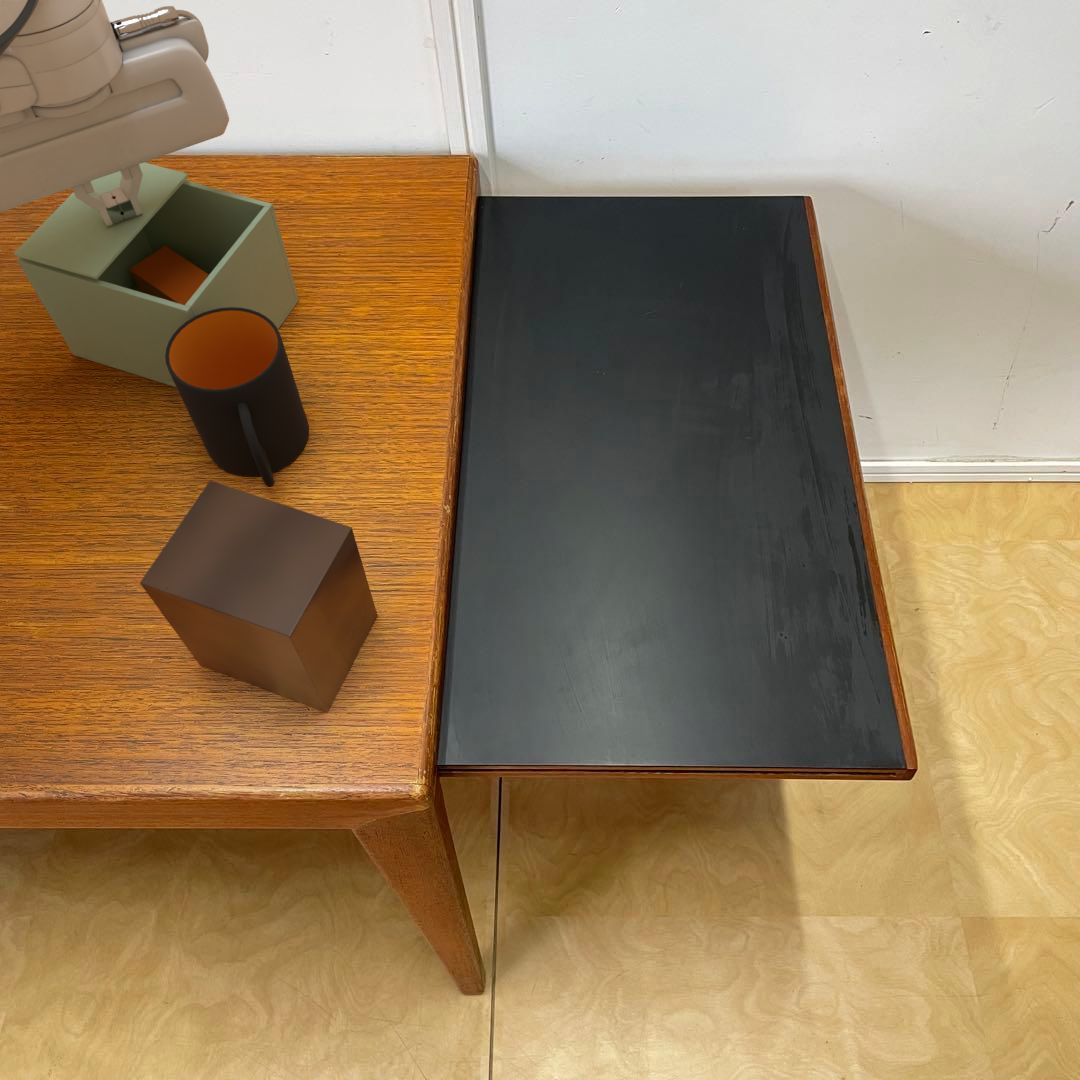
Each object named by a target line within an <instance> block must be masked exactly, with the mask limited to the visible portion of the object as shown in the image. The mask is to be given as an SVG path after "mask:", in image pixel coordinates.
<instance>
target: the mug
mask: <svg viewBox="0 0 1080 1080" xmlns="http://www.w3.org/2000/svg"><path fill="white" fill-rule="evenodd" d="M165 360H166V365H167V368H168V370H169V372H170V375H171V377H172V379H173V381H174V383H175V385H176V387H177V388H176V387H175V388H176V389H177V392H178V393H179V394H178V395H180V398H181V399H182V402H183V404H184V406H185V409H186V410H187V412H188V414H189V416H190V418H191V421H192V423H193V425H194V427H195V430H196V431H197V433H198V435H199V437H200V439H201V441H202V444H203V445H204V448H205V450H206V451H207V455H208V456H209V458H210V459H211V460H212V462H213V463H214V464H215V465H216V466H217V467H218V468H220V469H222V470H223V471H225V473H226V472H227V473H229V474H232V475H234V476H240V477H249V478H254V477H261V479H262V482H263V484H264V486H266V488H273V487H274V485H275V477H274V475H273V473H277V472H279V471H281V470H283V469H285V468H286V467H288V466H289V465H290V464H292V463H293V462H294V461H295V460H296V459H297V458H298V457H299V456H300V455H301V453H302V452H303V451H304V449H305V447H306V446H307V443H308V441H309V440H308V439H309V436H310V427H309V421H308V418H307V416H306V412H305V409H304V405H303V403H302V399H301V396H300V392H299V389H298V386H297V383H296V380H295V376H294V374H293V370H292V367H291V364H290V360H289V357H288V355H287V352H286V347H285V344H284V342H283V338H282V336H281V333H280V330H279V329H278V328H277V327H276V326H275V324H274V323H273V322H272V321H271V320H270V319H269V318H267V317H266V316H264V315H263V314H261V313H259V312H256V311H253V310H250V309H245V308H237V307H227V308H219V309H213V310H210V311H207V312H203V313H201V314H199V315H197V316H195V317H193V318H191V319H190V320H188V321H186V322H185V323H184V324H183V325H181V326H180V327H179V328H178V329H177V330H176V332H175V333H174V334H173V335H172V337H171V339H170V340H169V342H168V345H167V348H166V353H165Z"/></svg>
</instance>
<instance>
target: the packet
mask: <svg viewBox="0 0 1080 1080" xmlns="http://www.w3.org/2000/svg"><path fill="white" fill-rule="evenodd" d="M130 272H131V274H132V276H133V278H134V280H135V282H136V285H137V287H138V289H139V291H140V292H141V293H145V294H148V295H152V296H155V297H158V298H162V299H165V300H168V301H172V302H175V303H178V304H182V305H185V304H186V303H187V302H188V301H189V299H190V298H191V297H192V296H193V294H194V293H195V292H196V291H197V289H198V288H199V287H200V286H201V284H202V283H203V282H204V281H205V280H206V278H207V277H208V276H209V274H207V273H206V272H204V271H203V270H201V269H200V268H198V267H197V266H195V265H194V264H192V263H191V262H189V261H188V260H186V259H185V258H183V257H182V256H180V255H179V254H177V253H176V252H174V251H173V250H171V249H170V248H168V247H167V246H164V247H162V248H161V249H159V250H158V251H156V252H155V253H153V254H152V255H150V256H149V257H147V258H146V259H144V260H143V261H141V262H140V263H138V264H137V265H135V266H134V267H132V268H131V269H130Z"/></svg>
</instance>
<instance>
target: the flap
mask: <svg viewBox="0 0 1080 1080" xmlns="http://www.w3.org/2000/svg"><path fill="white" fill-rule="evenodd" d="M139 166H140V169H141V171H142V174H143V176H142V180H141V184H140V189H139V193H138V197H136V198H137V200H138V203H139V205H140V207H141V210H142V212H143V214H141V215H139V216H136V217H133V218H130V219H127V220H125V221H122V222H120V223H117V224H114V225H111V226H109V227H107V226H106V225H105V223H104V221H103V220H102V218H101V216H100V214H99V213H98V211H97V210H95V209H94V208H92V207H91V206H89V205H87V204H86V203H84V202H83V201H81V200H80V199H78V198H77V197H76V196H75V194H74V192H73V191H72V193H71V194H70V195H69V196H68V197H67V198H66V199H65V200H64V201H63V202H62V203H61V204H60V205H59V206H58V207H57V208H56V209H55V210H54V211H53V212H52V213H51V214H50V215H49V216H48V218H46V219H45V221H43V222H42V224H40V226H39V227H37V228H36V230H35V231H34V232H32V234H31V235H30V236H29V237H28V238H27V239H26V240H25V241H23V243H22V244H21V245H20V246H19V247H18V248H16V250H15V251H13V254H14V256H15V257H19V258H20V257H21V258H25V259H28V260H31V261H35V262H38V263H42V264H45V265H49V266H52V267H56V268H59V269H63V270H66V271H70V272H73V273H77V274H80V275H84V276H87V277H91V278H94V279H98V278H99V276H100V275H101V274H102V273H103V272H104V271H105V270H106V269H107V268H108V266H109V265H110V264H111V263H112V262H113V261H114V260H115V259H116V257H117V256H118V255H119V254H120V253H121V252H122V251H123V250H124V249H125V247H126V246H127V245H128V244H129V243H130V242H131V241H132V240H133V238H134V237H135V236H136V235H137V234H138V233H139V232H140V231H141V229H142V228H143V227H144V226H145V225H146V224H147V223H148V222H149V221H150V219H151V218H152V217H153V216H154V215H155V214H156V213H157V212H158V210H159V209H160V208H161V207H162V206H163V205H164V204H165V203H166V202H167V200H168V199H169V198H170V197H171V196H172V195H173V194H174V193H175V191H176V190H177V189H178V188H179V187H180V186H181V185H182V184H183V183H184V181H185V180H186V181H187V179H188V178H189V174H188V173H187V172H184V171H179V170H175V169H171V168H168V167H163V166H160V165H157V164H151V163H148V162H144V163H141V164H139ZM120 181H121V173H120V171H118V172H115V173H112V174H109V175H107V176H104V177H101V178H98V179H95V180H92V181H90V182H91V184H92V186H93V189H94V191H95V192H97V193H98V194H99V195H100V194H103V193H106V192H109V191H112V190H115V189H117V188H120Z"/></svg>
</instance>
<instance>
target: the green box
mask: <svg viewBox="0 0 1080 1080" xmlns="http://www.w3.org/2000/svg"><path fill="white" fill-rule="evenodd" d="M164 246H167V247H168V248H170V249H171V250H173V251H174V252H176V253H177V254H179V255H180V256H182V257H183V258H185V259H186V260H188V261H189V262H191V263H192V264H194V265H195V266H197V267H198V268H200V269H201V270H203V271H204V272H206V273H207V274H209V276H208V277H207V278H206V280H205V281H204V282H203V283H202V284H201V286H200V287H199V288H198V289H197V291H196V292H195V293H194V294H193V296H192V297H191V298H190V299H189V301H188V302H187V303H186V304H185V305H182V304H178V303H175V302H172V301H168V300H165V299H162V298H158V297H155V296H152V295H148V294H145V293H141V292H140V291H139V289H138V287H137V285H136V282H135V280H134V278H133V276H132V274H131V272H130V269H131V268H132V267H134V266H135V265H137V264H138V263H140V262H141V261H143V260H144V259H146V258H147V257H149V256H150V255H152V254H153V253H155V252H156V251H158V250H159V249H161V248H162V247H164ZM16 262H17V263H18V265H19V267H20V269H21V270H22V272H23V273H24V275H25V277H26V278H27V280H28V281H29V283H30V286H32V288H33V290H34V291H35V293H36V295H37V296H38V299H39V300H40V302H41V304H42V305H43V307H44V308H45V310H46V311H47V314H48V315H49V317H50V318H51V320H52V322H53V323H54V325H55V327H56V328H57V330H58V332H59V334H60V336H62V338H63V340H64V342H65V343H66V345H67V347H68V348H69V350H70V351H71V353H72V355H73V356H75V357H78V358H81V359H85V360H87V361H90V362H94V363H98V364H100V365H104V366H107V367H110V368H113V369H116V370H120V371H122V372H126V373H128V374H132V375H135V376H139V377H142V378H145V379H149V380H151V381H154V382H158V383H161V384H163V385H166V386H167V385H168V386H171V387H173V388H176V389H177V387H176V385H175V383H174V381H173V379H172V377H171V375H170V372H169V370H168V368H167V365H166V360H165V353H166V348H167V345H168V342H169V340H170V339H171V337H172V335H173V334H174V333H175V332H176V330H177V329H178V328H179V327H180V326H181V325H183V324H184V323H185V322H186V321H188V320H190V319H191V318H193V317H195V316H197V315H199V314H201V313H203V312H207V311H210V310H213V309H219V308H227V307H237V308H245V309H250V310H253V311H256V312H259V313H261V314H263V315H264V316H266V317H267V318H269V319H270V320H271V321H272V322H273V323H274V324H275V326H276V327H277V328H278V330H279V329H280V327H281V326H282V325H283V324H284V322H285V321H286V319H287V318H288V317H289V315H290V314H291V313H292V311H293V310H294V308H295V307H296V305H297V304H298V302H299V301H300V299H299V295H298V291H297V286H296V283H295V279H294V276H293V272H292V269H291V265H290V262H289V258H288V256H287V250H286V248H285V244H284V239H283V237H282V233H281V229H280V225H279V222H278V218H277V214H276V212H275V208H274V204H273V203H271V202H268V201H264V200H260V199H256V198H252V197H249V196H245V195H242V194H237V193H234V192H230V191H227V190H222V189H220V188H216V187H213V186H208V185H204V184H200V183H197V182H194V181H190V180H187V179H186V180H185V181H184V183H183V184H182V185H181V186H180V187H179V188H178V189H177V190H176V191H175V193H174V194H173V195H172V196H171V197H170V198H169V199H168V200H167V202H166V203H165V204H164V205H163V206H162V207H161V208H160V209H159V210H158V212H157V213H156V214H155V215H154V216H153V217H152V218H151V219H150V221H149V222H148V223H147V224H146V225H145V226H144V227H143V228H142V229H141V231H140V232H139V233H138V234H137V235H136V236H135V237H134V238H133V240H132V241H131V242H130V243H129V244H128V245H127V246H126V247H125V249H124V250H123V251H122V252H121V253H120V254H119V255H118V256H117V257H116V259H115V260H114V261H113V262H112V263H111V264H110V265H109V266H108V268H107V269H106V270H105V271H104V272H103V273H102V274H101V275H100V276H99V278H98V279H94V278H91V277H87V276H84V275H80V274H77V273H73V272H70V271H66V270H63V269H59V268H56V267H52V266H49V265H45V264H42V263H38V262H35V261H31V260H28V259H25V258H21V257H19V258H17V260H16Z"/></svg>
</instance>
